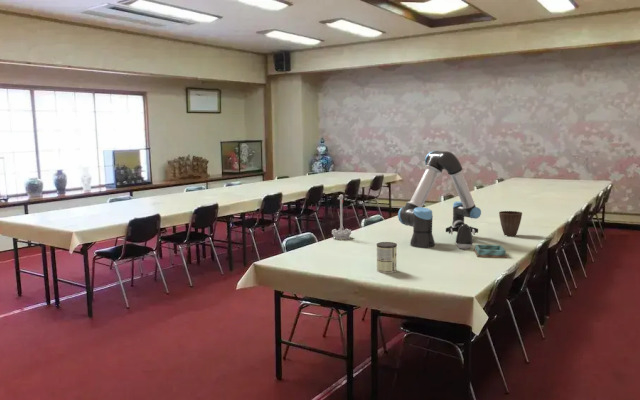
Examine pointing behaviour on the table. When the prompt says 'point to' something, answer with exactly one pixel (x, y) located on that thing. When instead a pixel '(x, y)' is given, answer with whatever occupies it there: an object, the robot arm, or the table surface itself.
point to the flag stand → (341, 226)
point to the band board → (490, 251)
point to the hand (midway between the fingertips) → (463, 232)
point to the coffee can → (386, 257)
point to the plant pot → (510, 222)
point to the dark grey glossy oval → (464, 237)
